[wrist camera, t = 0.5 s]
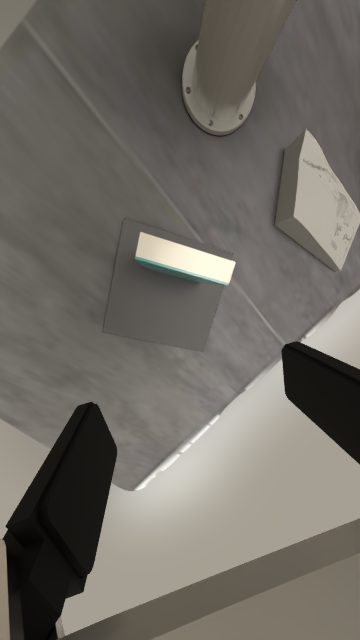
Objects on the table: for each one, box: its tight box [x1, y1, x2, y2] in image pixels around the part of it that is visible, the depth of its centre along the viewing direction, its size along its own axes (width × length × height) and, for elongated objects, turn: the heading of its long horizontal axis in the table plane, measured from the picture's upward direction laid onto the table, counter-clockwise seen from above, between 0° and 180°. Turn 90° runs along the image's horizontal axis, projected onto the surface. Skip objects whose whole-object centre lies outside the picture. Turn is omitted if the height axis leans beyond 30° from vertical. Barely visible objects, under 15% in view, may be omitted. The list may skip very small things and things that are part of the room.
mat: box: [103, 218, 233, 352], centre depth 36 cm, size 22×22×1 cm
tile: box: [135, 232, 236, 286], centre depth 28 cm, size 3×12×14 cm, turn 75°
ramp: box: [275, 129, 360, 272], centre depth 35 cm, size 28×16×5 cm, turn 39°
